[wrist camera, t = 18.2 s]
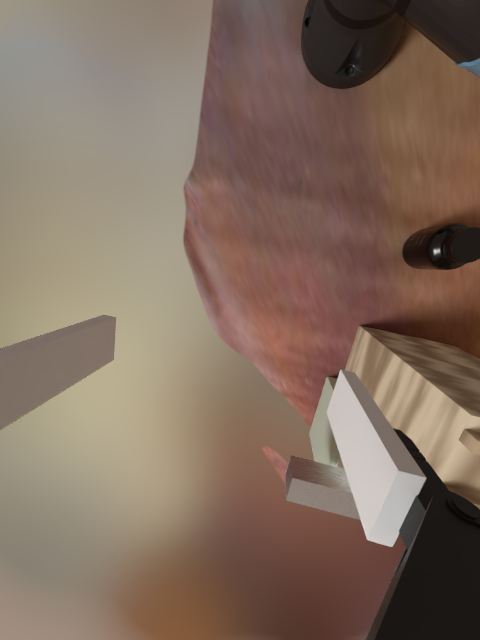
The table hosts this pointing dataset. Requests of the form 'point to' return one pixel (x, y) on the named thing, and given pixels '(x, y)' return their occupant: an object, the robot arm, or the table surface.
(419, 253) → the supplement bottle
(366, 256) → the table surface
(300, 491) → the bar
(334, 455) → the block
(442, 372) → the birch stand
